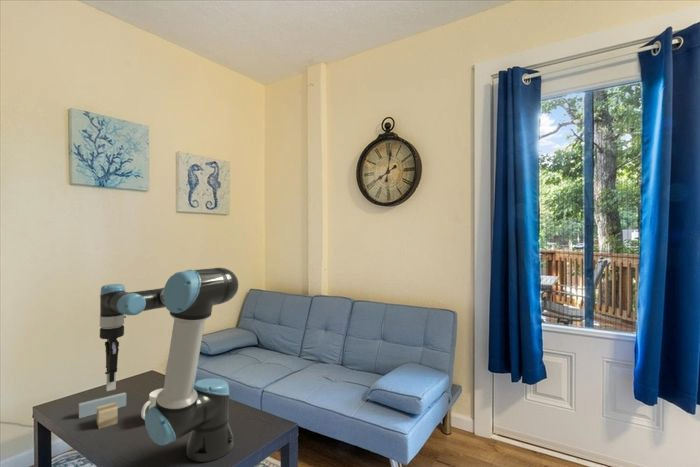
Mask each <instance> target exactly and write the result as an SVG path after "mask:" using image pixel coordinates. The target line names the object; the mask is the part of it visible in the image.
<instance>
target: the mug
mask: <svg viewBox="0 0 700 467" xmlns="http://www.w3.org/2000/svg"><path fill="white" fill-rule="evenodd" d="M163 389H164V387H163V388H157V389H155V390H152V391H151V392H149V395H148V401H146V402H145V403H144V404H143V406H142V407H141V411H140V417H141V419H143V420H144V421H145V413H146V411H147V408H148V409H150V408H151V407H154V406H155V405H156V399H157V395H158V394H159V393H160V392H161V391H162V390H163Z"/></svg>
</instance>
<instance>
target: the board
mask: <svg viewBox="0 0 700 467" xmlns="http://www.w3.org/2000/svg"><path fill="white" fill-rule="evenodd" d="M111 403H116V405H117V408H118V409H119V408H123V407H127V393H126V392H121V393H118V394H112V395H108V396H105V397H99V398H95V399H91V400H87V401H85V402H79V403H78V419H82V418H86V417H91V416H93V415H97V407H100V406H104V405H108V404H111Z"/></svg>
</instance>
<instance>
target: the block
mask: <svg viewBox="0 0 700 467" xmlns="http://www.w3.org/2000/svg"><path fill="white" fill-rule="evenodd" d="M118 410H119V408H117V405H116V403H111V404H108V405H104V406H100V407H97V414H96V425H97V428H98V430H99V429H103V428H106V427H110V426H113V425H117V424H118V422H119V421H118V416H119V415H118V413H119V411H118Z"/></svg>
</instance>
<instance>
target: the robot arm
mask: <svg viewBox="0 0 700 467" xmlns="http://www.w3.org/2000/svg"><path fill="white" fill-rule="evenodd" d="M238 290H239V280H238V277H237V275H236V274H235V273H234V272H233V271H231V270H230V269H227V268H225V267H213V268H202V269H201V268H200V269H186V270H182V271H178V272H175V273H173V274H172V275H171V276H169V278H168V279H167V281H166V282H165V284H164V287H161V288H160V287H159V288H154V289H148V290H147V289H146V290H138V291H130V292H129V291H126V287H125V285H124V284H122V283H112V284H104V285H102V286H101V287H100V295H99V302H100V304H99V305H100V306H99V307H100V311H99V312H100V313H99V327H100V328H99V338H100V339H102V340H106V341H105V342H104V346H105V347H104V348H105V368H106V371H105V373H104V374H105V375H106V382H105V383H106V385H105V386H106V388H105V389H106V392H110V391H114V390H116V389H117V388H116V386H117V385H116V384H117V372H118V362H119V361H118V358H119V351H120V349H119V347H120V342H119V341H118V338H121V337H123V336H124V334H125V326H124V324H125V319H126V318H127V316H137V315H139V314H141V313H142V312H146V311H147V312H148V311H150V310H151V311H152V310H156V309H162V308H163V309H164V308H166V310H167V311H168V312H169V315H170V316H171V318H172V319H173V325H172V331H171V339H170V345H169V352H168V359H167V364H166V371H165V377H164V384H163V388H164V389H163V390H162V391H161V392H160V393H159V394H158V395H157V399H156V405H155V406H154V407H151V408H150V409H149V408H148V409H146V410H145V420H144V424H145V425H144V426H145V429H146V432H147V433H148V436H149V437H150V440H152V441H153V442H154V443H155V444H157V445H158V446H165V445H168V444H171V443H173V442H176V440H178V439H180V438H181V437H184V436H185V435H187V434H189V433H190V435H189V438H188V441H187V444H186V456H187V458H188V459H190V460H191V461H194V462H199V463H200V462H201V463H202V462H203V463H205V462H211V461H215V460H218V459H220V458H222V457H224V456H226V455H227V454H228V453H230V452H231V450H232V449H233V447H234V435H233V432H232V429H231V425H230V422H229V421H230V420H229V416H230V415H229V413H230V412H229V411H230V409H229V408H230V404H229V403H230V395H231V392H230V388H229V386H230V385H229V383H228V382H227V381H226V380H224V379H221V378H215V377H214V378H211V377H210V378H204V379H203V378H202V379H199V380H196V376H197V372H198V365H199V360H200V359H199V358H200V354H201V353H200V351H201V347H202V340H203V334H204V327H205V323H206V322H205V321H206V320H208V319H209V318H211V316H212V312H213V306H216V305H221V304H224V303H227V302H228V301H231V300H232V299H233V298H234V297H235V295H237V292H238Z"/></svg>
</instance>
